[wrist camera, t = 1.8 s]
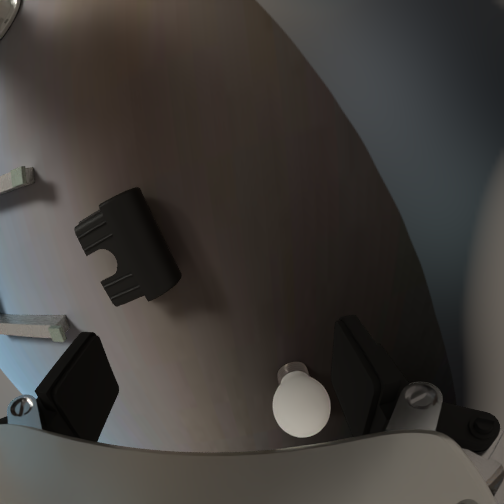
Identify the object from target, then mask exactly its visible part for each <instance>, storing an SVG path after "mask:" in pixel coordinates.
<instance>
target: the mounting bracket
mask: <svg viewBox="0 0 504 504" xmlns="http://www.w3.org/2000/svg"><path fill="white" fill-rule="evenodd" d="M32 183H35V182H34V173H33V167H31V168H25V166H22V167H19V168H16V169H14V170H11V172H9V173H7V174H5V175H2V176H0V195H1V194H4V193H6V192H9V191H12V190H15V189H17V188H20V187H23V186H26V185H29V184H32ZM69 328H70V327H69V324H68V321H67V319H66V316H65V315H11V314H1V313H0V334H4V335H14V336H26V337H40V338H52V340H53V342H65V340H66V339H67V338H66V336H65V333H66V331H67V330H68V329H69Z"/></svg>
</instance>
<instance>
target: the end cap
mask: <svg viewBox="0 0 504 504" xmlns="http://www.w3.org/2000/svg"><path fill="white" fill-rule="evenodd" d="M99 208H100V210H98V211H96V212H95V213H93V214H91V215H90V216H88V217H87V218H85V219H83V220H82V221H80V222H79V225H77V226H76V227H75V233H76V236H77V238H78V240H79V242H80V244H81V246H82V248H83V250H84V252H85V254H86V256H88V255H89V254H91V253H93V252H95V251H96V250H99V249H106V250H109V251H110V252H111V253H112V254H113V255H114V256H115V258H116V260H117V264H118V266H117V271H116V273H115V274H114V275H113V276H111V277H109V278H107V279H105V280H103V281H101V284H102V286H103V287H104V289H105V291H106V293H107V294H108V296H109V298H110V299H111V301H112V303H113V304H114V305H115V306H120V305H123V304H125V303H128V302H130V301H132V300H135V299H137V298H139V297H142V296H144V295H145V297H146V299H147V300H148V301H151V300H153V299H155V298H157V297H159V296H161V295H162V294H164V293H165V292H167V291H168V290H170V289H171V288H172V287H174V286H175V285H176V284H177V283H178V282H179V280H180V279H181V276H182V274H181V272H180V270H179V268H178V266H177V264H176V262H175V260H174V258H173V256H172V254H171V252H170V250H169V248H168V246H167V244H166V242H165V240H164V238H163V236H162V234H161V232H160V230H159V228H158V226H157V224H156V222H155V220H154V218H153V216H152V214H151V211H150V209H149V207H148V205H147V203H146V201H145V199H144V196H143V194H142V192H141V190H140V188H138V187H135V188H132V189H129V190H127V191H125V192H122V193H120V194H118V195H116V196H114V197H112V198H110V199H108V200H107V201H105V202H103V203H101V204H100V205H99Z"/></svg>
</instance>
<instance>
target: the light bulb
mask: <svg viewBox="0 0 504 504" xmlns="http://www.w3.org/2000/svg"><path fill="white" fill-rule="evenodd" d="M277 377H278V382H279V387H278V388H277V390H276V392H275V395H274V398H273V413H274V417H275V419H276V421H277V423H278V425H279V426H280V427H281V428H282V429H283V430H284V431H285V432H287V433H288V434H290V435H292V436H296V437H309V436H312V435H315V434H316V433H318V432H319V431H321V429H322V428H323V427H324V426H325V425H326V423H327V421H328V419H329V416H330V410H331V407H330V399H329V396H328V393H327V391H326V390H325V388H324V387H323V386H322V384H321V383H319V382H318V381H317V380H315V379H314V378H312V377H310V376H309V373H308V370H307V367H306V366H305V364H303V363H301V362H291V363H288V364H286V365H284V366H283V367H282V368H281V369H280V370H279V371H278V374H277Z"/></svg>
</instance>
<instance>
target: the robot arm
mask: <svg viewBox="0 0 504 504" xmlns="http://www.w3.org/2000/svg"><path fill="white" fill-rule="evenodd" d="M19 6H20V0H0V39H1V38H2V37H3V35H4V34H5V33H6V31H7V30H8V28H9V27H10V25H11V23H12V22H13V20H14V18H15V16H16V14H17V11H18V9H19ZM331 382H332V385H333V387H334V390H335V392H336V395H337V397H338V400H339V402H340V405H341V407H342V410H343V412H344V415H345V417H346V420H347V423H348V425H349V428H350V430H351V433H352V435H353V437H352V438H346V439H341V440H336V441H331V442H325V443H319V444H313V445H306V446H298V447H291V448H282V449H273V450H262V451H247V452H217V453H203V452H174V451H160V450H149V449H139V448H131V447H124V446H117V445H111V444H105V443H99V442H97V441H98V439H99V436H100V434H101V432H102V429H103V427H104V425H105V422H106V420H107V418H108V415H109V413H110V411H111V409H112V406H113V404H114V402H115V400H116V398H117V395H118V393H119V386H118V384H117V381H116V379H115V376H114V374H113V372H112V369H111V367H110V364H109V362H108V359H107V356H106V354H105V351H104V348H103V346H102V343H101V340H100V338H99V337H98V336H96V334H95V333H93V332H81V333H80V334H79V335H78V336H77V338H76V339H75V340H74V341H73V342H72V344H71V345H70V346H69V347H68V349H67V350H66V351H65V352H64V354H63V355H62V356H61V357H60V359H59V360H58V361H57V362H56V364H55V365H54V366H53V367H52V369H51V370H50V371H49V373H48V374H47V375H46V377H45V378H44V379H43V380H42V382H41V383H40V384H39V386H38V387H37V389H36V390H35V393H36V394H37V396H38V398H37V399H35V398H34V397H33V396H31V395H21V396H19V397H17V398H15V399H14V400H12V401H11V403H10V404H9V406H8V409H7V417H4V418H1V419H0V504H504V431H503V430H501V429H500V424H499V422H498V420H497V419H496V417H495V416H493V415H492V414H490V413H487V412H483V411H479V410H474V409H469V408H465V407H461V406H456V405H452V404H448V403H444V402H442V394H441V392H440V390H439V389H438V388H437V387H435V386H434V385H432V384H429V383H426V382H414V383H411V384H409V383H408V382H407V380H406V379H405V378H404V376H403V375H402V373H401V372H400V370H399V369H398V368H397V366H396V365H395V363H394V362H393V361H392V359H391V358H390V357H389V355H388V354H387V352H386V351H385V350H384V348H383V347H382V346H381V345H380V344H376V343H375V341H374V340H373V338H372V337H371V336H370V334H369V333H368V331H367V330H366V329H365V327H364V326H363V325H362V323H361V322H360V320H359V319H358V318H357V316H356V315H350V316H343V317H340V319H339V321H336V322H335V331H334V345H333V357H332V368H331Z"/></svg>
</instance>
